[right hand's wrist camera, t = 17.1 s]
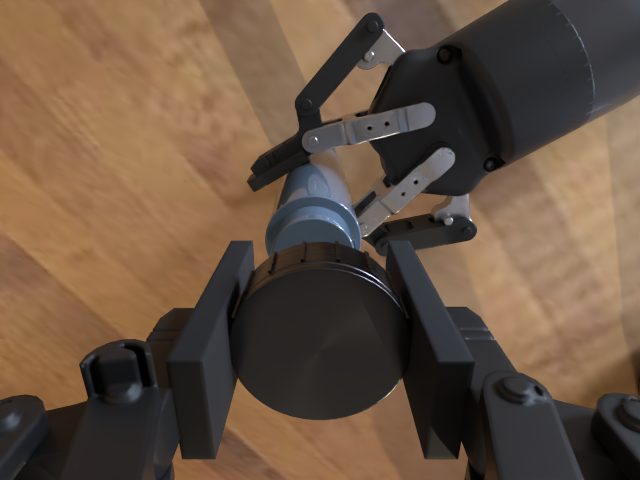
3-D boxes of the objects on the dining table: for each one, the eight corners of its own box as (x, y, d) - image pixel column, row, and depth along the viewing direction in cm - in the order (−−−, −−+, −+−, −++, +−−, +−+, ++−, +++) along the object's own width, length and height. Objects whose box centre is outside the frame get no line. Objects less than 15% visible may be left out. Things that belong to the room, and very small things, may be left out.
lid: (433, 281, 12) (452, 314, 10) (353, 399, 13) (357, 444, 12) (280, 209, 11) (273, 232, 9) (214, 344, 13) (198, 384, 11)
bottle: (295, 203, 30) (278, 313, 16) (279, 150, 29) (245, 222, 15) (347, 189, 30) (375, 290, 16) (334, 136, 28) (352, 195, 14)
